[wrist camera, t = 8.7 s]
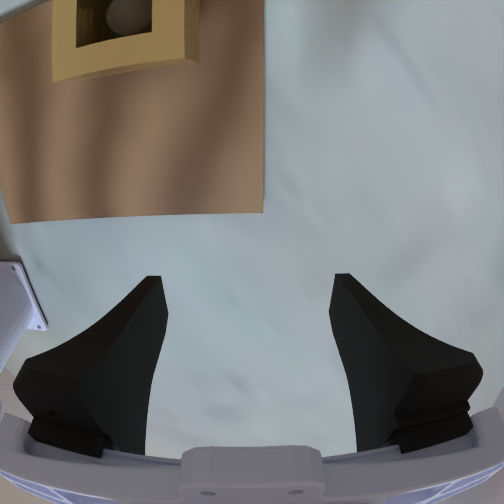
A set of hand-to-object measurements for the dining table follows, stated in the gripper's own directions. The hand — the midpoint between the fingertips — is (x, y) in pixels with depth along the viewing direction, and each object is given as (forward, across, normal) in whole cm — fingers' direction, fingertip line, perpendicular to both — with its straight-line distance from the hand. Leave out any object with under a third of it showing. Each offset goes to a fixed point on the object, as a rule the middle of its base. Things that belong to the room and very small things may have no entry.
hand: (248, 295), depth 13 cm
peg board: (+9, +9, -8) cm, 15 cm away
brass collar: (+5, +5, -12) cm, 14 cm away
